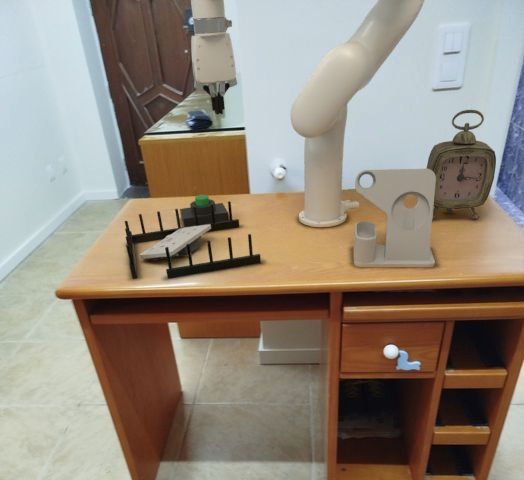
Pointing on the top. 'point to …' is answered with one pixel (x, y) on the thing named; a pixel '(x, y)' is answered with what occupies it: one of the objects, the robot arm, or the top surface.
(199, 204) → the button
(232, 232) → the top surface
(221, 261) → the dish rack
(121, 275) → the top surface
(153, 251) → the wall socket
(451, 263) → the top surface
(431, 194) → the phone holder
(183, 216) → the control block
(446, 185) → the tabletop clock
